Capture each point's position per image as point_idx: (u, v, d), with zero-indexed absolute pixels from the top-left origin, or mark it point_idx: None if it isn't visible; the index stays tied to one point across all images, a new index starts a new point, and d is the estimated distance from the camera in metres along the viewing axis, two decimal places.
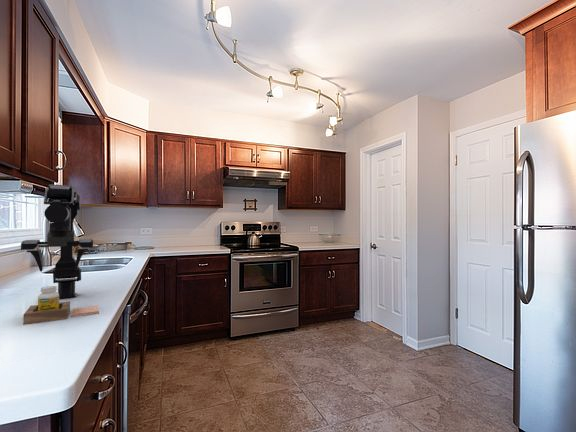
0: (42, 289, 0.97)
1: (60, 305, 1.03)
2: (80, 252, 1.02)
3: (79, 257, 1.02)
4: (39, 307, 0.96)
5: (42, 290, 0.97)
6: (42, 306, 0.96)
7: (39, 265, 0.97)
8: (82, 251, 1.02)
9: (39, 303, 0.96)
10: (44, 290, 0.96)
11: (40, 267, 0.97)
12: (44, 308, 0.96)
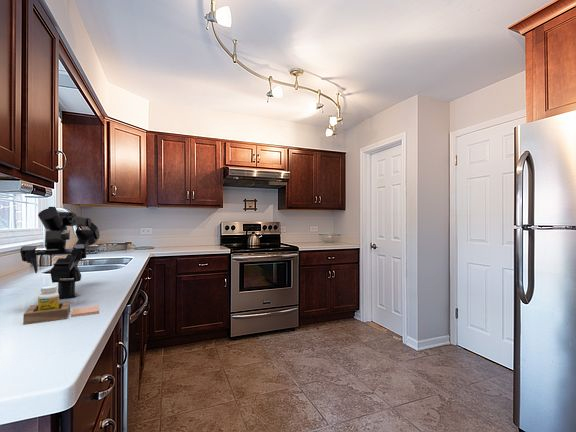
0: (42, 289, 0.97)
1: (60, 305, 1.03)
2: (74, 253, 1.11)
3: (73, 258, 1.10)
4: (39, 307, 0.96)
5: (42, 290, 0.97)
6: (42, 306, 0.96)
7: (35, 266, 1.04)
8: (76, 252, 1.12)
9: (39, 303, 0.96)
10: (44, 290, 0.96)
11: (35, 267, 1.04)
12: (44, 308, 0.96)
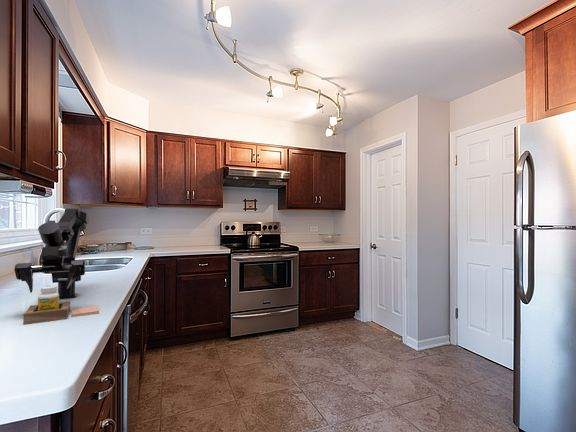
0: (42, 289, 0.97)
1: (60, 305, 1.03)
2: (72, 270, 1.05)
3: (70, 276, 1.04)
4: (39, 307, 0.96)
5: (42, 290, 0.97)
6: (42, 306, 0.96)
7: (29, 284, 0.97)
8: (74, 269, 1.05)
9: (39, 303, 0.96)
10: (44, 290, 0.96)
11: (30, 286, 0.97)
12: (44, 308, 0.96)
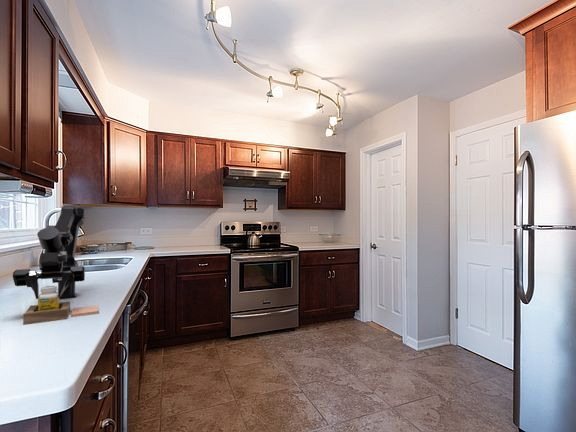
0: (42, 289, 0.97)
1: (60, 305, 1.03)
2: (65, 277, 1.02)
3: (63, 283, 1.01)
4: (39, 307, 0.96)
5: (42, 290, 0.97)
6: (42, 306, 0.96)
7: (35, 291, 0.96)
8: (67, 275, 1.02)
9: (39, 303, 0.96)
10: (44, 290, 0.96)
11: (36, 293, 0.96)
12: (44, 308, 0.96)
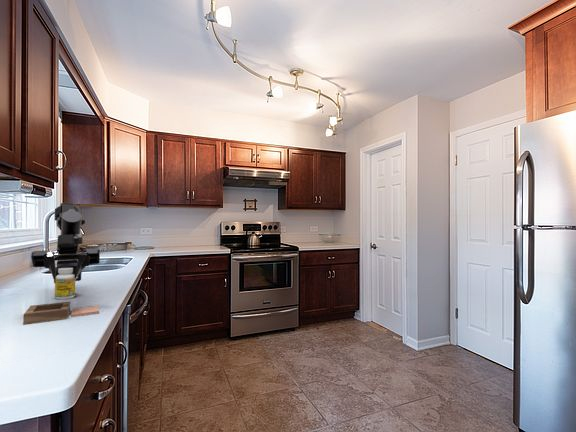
0: (59, 270, 0.99)
1: (60, 305, 1.03)
2: (81, 259, 1.04)
3: (79, 264, 1.03)
4: (56, 287, 0.98)
5: (59, 271, 0.99)
6: (59, 287, 0.98)
7: (53, 271, 0.99)
8: (83, 258, 1.04)
9: (56, 283, 0.98)
10: (61, 271, 0.99)
11: (53, 273, 0.99)
12: (61, 288, 0.98)
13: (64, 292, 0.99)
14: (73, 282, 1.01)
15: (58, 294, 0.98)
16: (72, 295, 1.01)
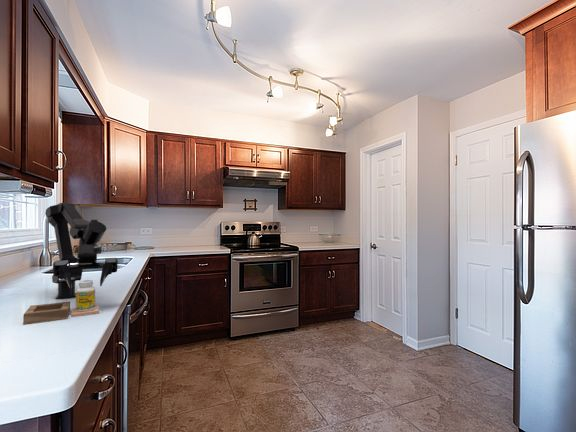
0: (80, 283, 1.02)
1: (60, 305, 1.03)
2: (105, 268, 1.08)
3: (104, 273, 1.07)
4: (77, 300, 1.01)
5: (80, 284, 1.02)
6: (81, 300, 1.01)
7: (69, 281, 1.01)
8: (107, 266, 1.08)
9: (77, 296, 1.01)
10: (82, 284, 1.02)
11: (70, 283, 1.01)
12: (82, 301, 1.01)
13: (85, 304, 1.02)
14: (93, 294, 1.04)
15: (79, 306, 1.01)
16: (93, 307, 1.04)
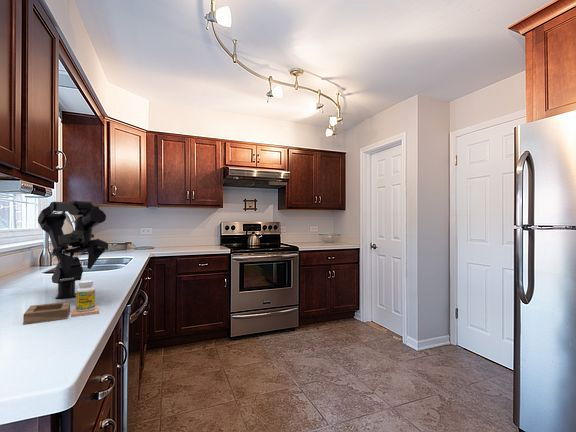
0: (80, 283, 1.02)
1: (60, 305, 1.03)
2: (89, 251, 1.11)
3: (90, 256, 1.11)
4: (77, 300, 1.01)
5: (80, 284, 1.02)
6: (81, 300, 1.01)
7: (64, 267, 1.12)
8: (91, 250, 1.11)
9: (77, 296, 1.01)
10: (82, 284, 1.02)
11: (64, 269, 1.11)
12: (82, 301, 1.01)
13: (85, 304, 1.02)
14: (93, 294, 1.04)
15: (79, 306, 1.01)
16: (93, 307, 1.04)
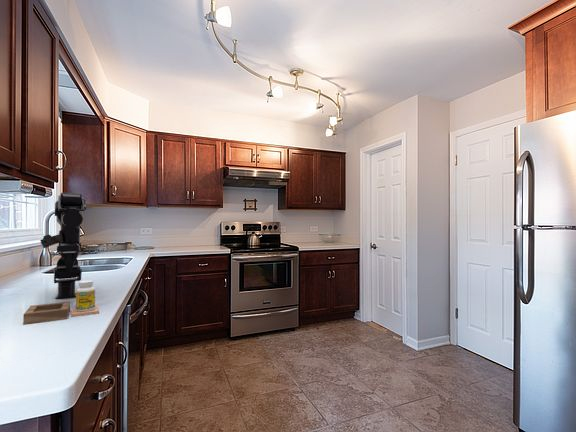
0: (80, 283, 1.02)
1: (60, 305, 1.03)
2: (61, 255, 1.06)
3: (64, 260, 1.07)
4: (77, 300, 1.01)
5: (80, 284, 1.02)
6: (81, 300, 1.01)
7: None
8: None
9: (77, 296, 1.01)
10: (82, 284, 1.02)
11: None
12: (82, 301, 1.01)
13: (85, 304, 1.02)
14: (93, 294, 1.04)
15: (79, 306, 1.01)
16: (93, 307, 1.04)
